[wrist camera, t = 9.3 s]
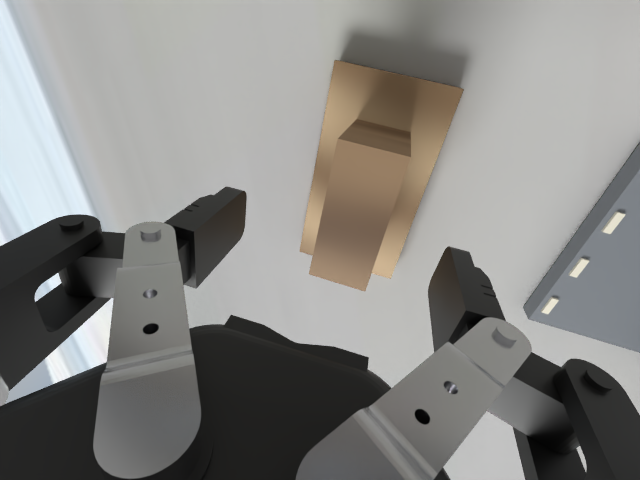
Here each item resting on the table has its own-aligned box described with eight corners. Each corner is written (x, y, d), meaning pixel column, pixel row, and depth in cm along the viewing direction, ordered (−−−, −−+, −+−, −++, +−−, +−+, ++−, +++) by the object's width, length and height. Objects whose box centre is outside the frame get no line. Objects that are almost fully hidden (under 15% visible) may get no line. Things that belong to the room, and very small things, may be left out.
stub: (338, 60, 17) (305, 58, 12) (460, 87, 17) (486, 99, 11) (304, 243, 23) (271, 299, 18) (391, 269, 23) (385, 336, 17)
